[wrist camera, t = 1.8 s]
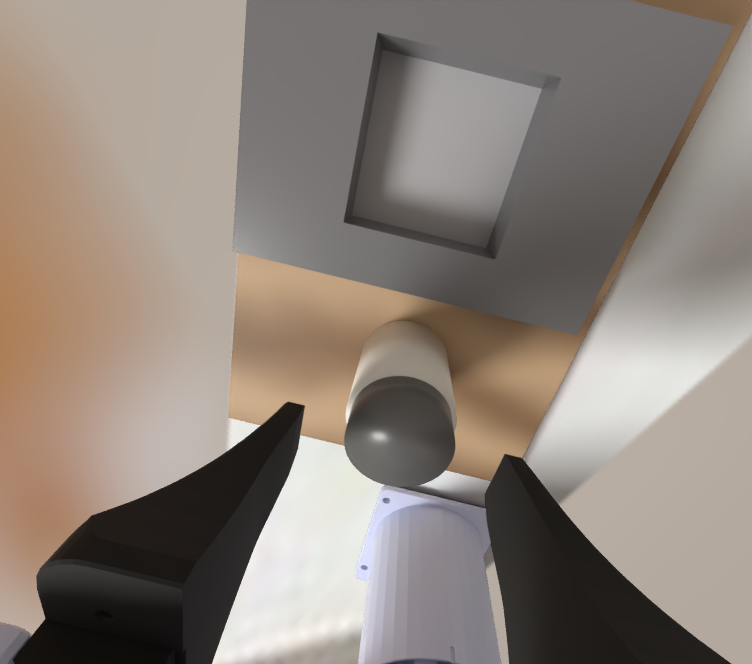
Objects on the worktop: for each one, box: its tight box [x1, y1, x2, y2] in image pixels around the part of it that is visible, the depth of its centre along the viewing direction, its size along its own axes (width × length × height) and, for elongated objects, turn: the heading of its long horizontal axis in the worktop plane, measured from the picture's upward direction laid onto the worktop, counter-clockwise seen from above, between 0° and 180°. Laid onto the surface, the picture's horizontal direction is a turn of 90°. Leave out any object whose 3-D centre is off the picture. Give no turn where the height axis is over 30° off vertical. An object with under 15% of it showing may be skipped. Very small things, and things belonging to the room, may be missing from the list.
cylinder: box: [344, 321, 457, 487], centre depth 17 cm, size 4×4×6 cm
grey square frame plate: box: [233, 0, 733, 335], centre depth 14 cm, size 14×10×3 cm
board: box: [228, 0, 752, 481], centre depth 18 cm, size 24×17×1 cm
